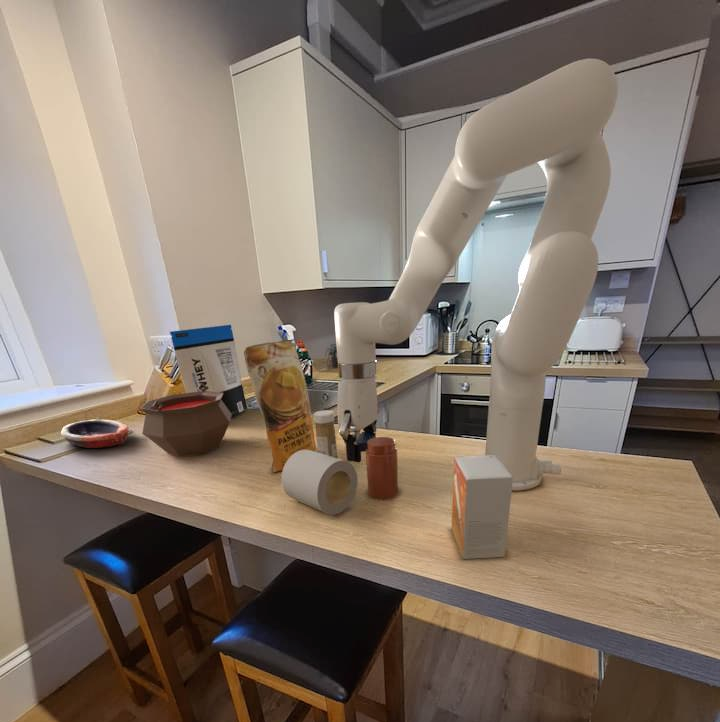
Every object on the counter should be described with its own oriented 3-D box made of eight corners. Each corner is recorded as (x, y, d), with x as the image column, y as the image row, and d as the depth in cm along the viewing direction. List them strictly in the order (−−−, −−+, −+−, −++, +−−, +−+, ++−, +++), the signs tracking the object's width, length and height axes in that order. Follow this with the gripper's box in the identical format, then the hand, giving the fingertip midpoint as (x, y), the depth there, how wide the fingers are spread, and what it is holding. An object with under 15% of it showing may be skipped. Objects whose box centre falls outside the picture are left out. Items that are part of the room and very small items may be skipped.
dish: (105, 427, 138) (100, 413, 136) (145, 441, 120) (140, 425, 118) (54, 440, 127) (48, 426, 125) (90, 458, 109) (83, 441, 107)
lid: (339, 448, 84) (339, 439, 83) (359, 439, 88) (358, 431, 87) (363, 454, 80) (363, 445, 79) (382, 445, 84) (382, 436, 84)
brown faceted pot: (213, 463, 99) (198, 399, 92) (129, 463, 103) (108, 402, 96) (252, 433, 120) (242, 379, 113) (181, 434, 124) (167, 382, 117)
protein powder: (255, 409, 147) (240, 324, 135) (203, 428, 129) (179, 331, 116) (238, 407, 152) (221, 325, 139) (184, 425, 134) (160, 332, 121)
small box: (450, 530, 64) (453, 456, 59) (489, 528, 64) (495, 454, 58) (461, 560, 57) (466, 479, 51) (505, 558, 57) (514, 476, 51)
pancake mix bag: (255, 472, 92) (231, 347, 80) (306, 446, 106) (292, 337, 94) (277, 477, 88) (255, 347, 77) (326, 449, 103) (314, 336, 91)
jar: (400, 486, 80) (399, 436, 76) (395, 500, 75) (393, 447, 70) (372, 485, 82) (369, 435, 77) (365, 498, 76) (361, 446, 72)
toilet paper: (285, 507, 75) (277, 459, 71) (323, 488, 82) (318, 443, 77) (320, 523, 69) (314, 471, 65) (359, 501, 75) (355, 453, 71)
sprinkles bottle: (342, 469, 90) (337, 412, 85) (325, 474, 88) (318, 416, 82) (332, 463, 94) (327, 408, 88) (316, 468, 92) (309, 412, 86)
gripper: (360, 363, 86) (364, 440, 93) (317, 378, 72) (326, 467, 80) (391, 364, 83) (393, 444, 90) (353, 380, 69) (359, 473, 76)
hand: (361, 454), depth 85 cm, fingers closed on lid, 6 cm apart
